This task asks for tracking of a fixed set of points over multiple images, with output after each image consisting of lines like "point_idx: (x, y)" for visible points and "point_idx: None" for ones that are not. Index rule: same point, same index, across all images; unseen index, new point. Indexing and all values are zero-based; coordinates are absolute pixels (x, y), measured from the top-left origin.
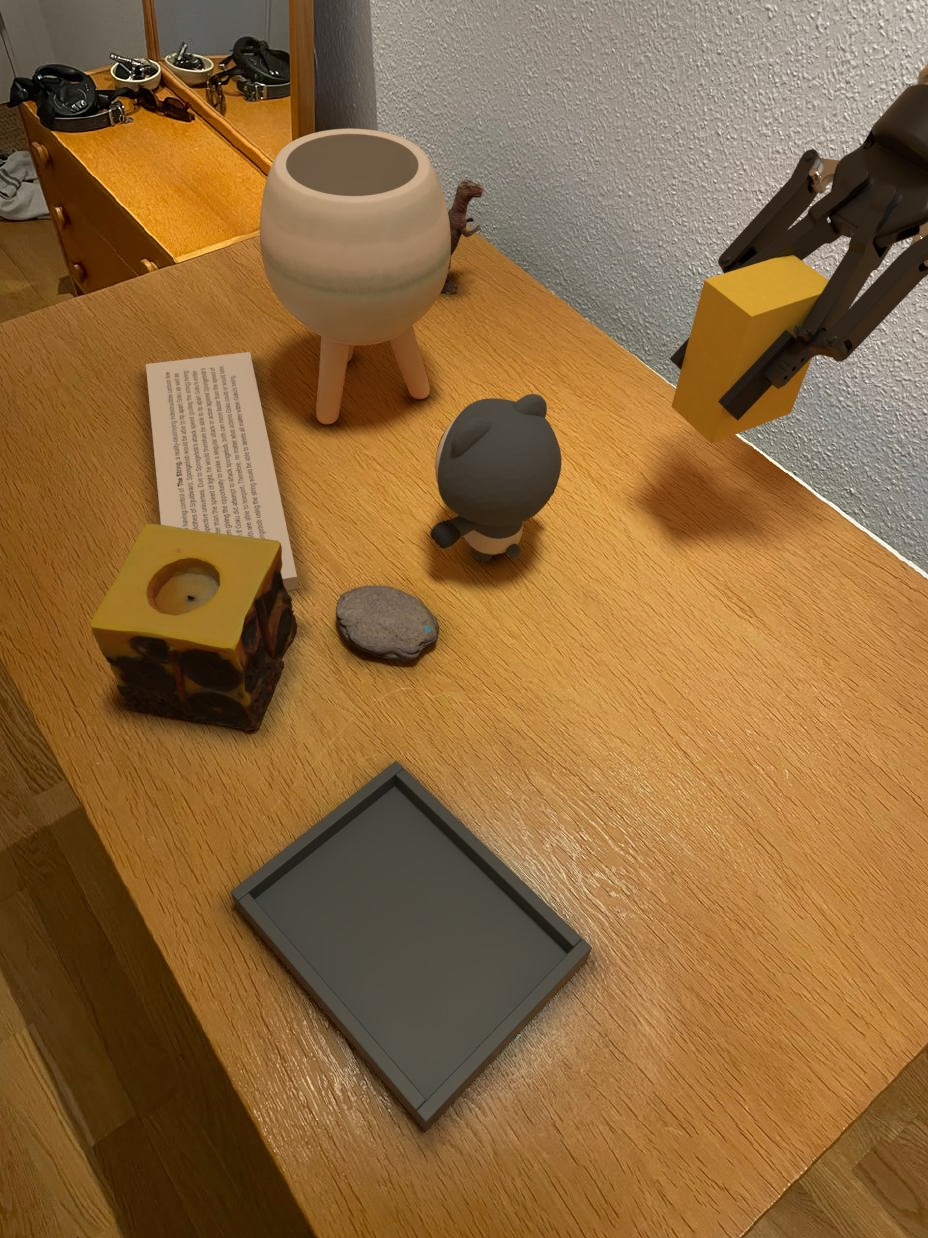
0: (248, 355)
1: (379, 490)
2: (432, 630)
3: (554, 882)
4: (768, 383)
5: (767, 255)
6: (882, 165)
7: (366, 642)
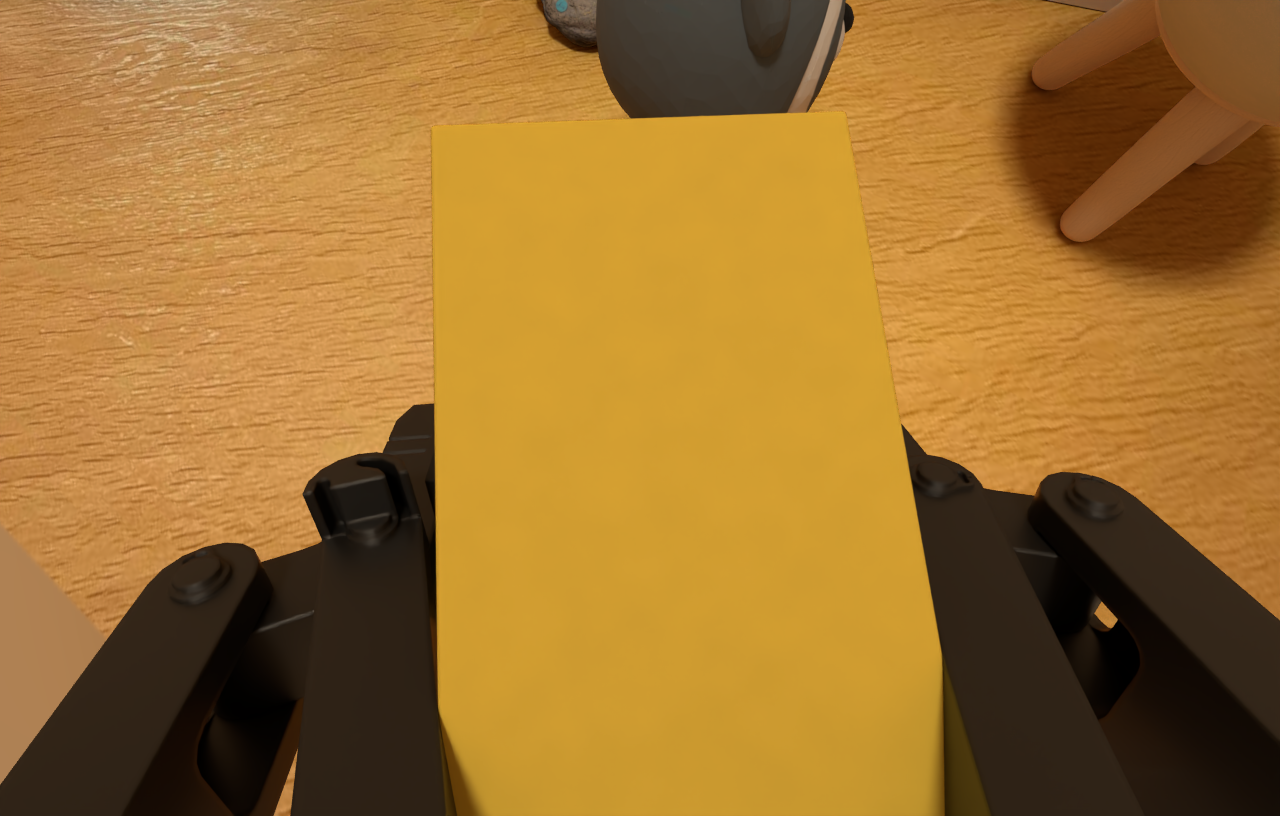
0: None
1: (865, 89)
2: (559, 13)
3: (179, 12)
4: None
5: (988, 645)
6: None
7: None
